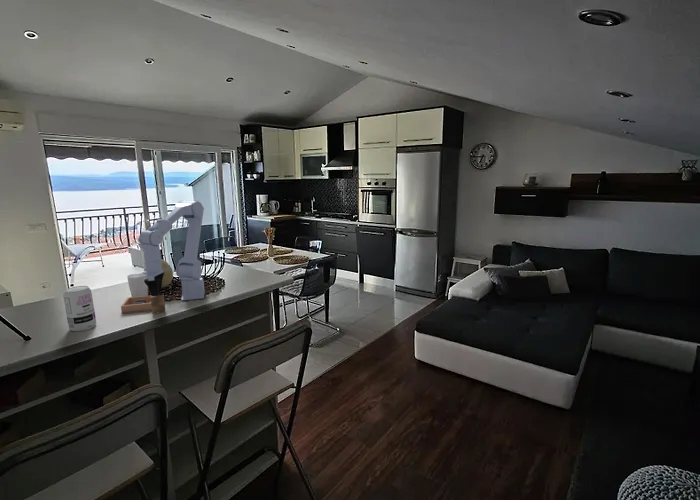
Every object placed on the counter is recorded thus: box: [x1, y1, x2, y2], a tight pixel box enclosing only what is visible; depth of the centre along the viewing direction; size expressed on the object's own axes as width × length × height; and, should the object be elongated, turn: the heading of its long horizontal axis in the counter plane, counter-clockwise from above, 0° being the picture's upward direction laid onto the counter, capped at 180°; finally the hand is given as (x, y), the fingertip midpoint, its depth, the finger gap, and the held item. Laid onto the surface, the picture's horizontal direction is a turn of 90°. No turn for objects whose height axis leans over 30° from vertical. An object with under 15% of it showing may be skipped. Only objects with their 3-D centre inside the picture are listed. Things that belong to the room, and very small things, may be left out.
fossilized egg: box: [143, 258, 174, 289], centre depth 176 cm, size 13×13×15 cm
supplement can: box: [62, 285, 97, 332], centre depth 131 cm, size 8×8×15 cm
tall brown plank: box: [150, 294, 166, 315], centre depth 146 cm, size 4×2×7 cm, turn 109°
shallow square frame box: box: [120, 294, 152, 314], centre depth 151 cm, size 11×11×3 cm
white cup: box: [126, 272, 149, 297], centre depth 165 cm, size 8×8×10 cm
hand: (156, 293), depth 145 cm, fingers open, 7 cm apart
